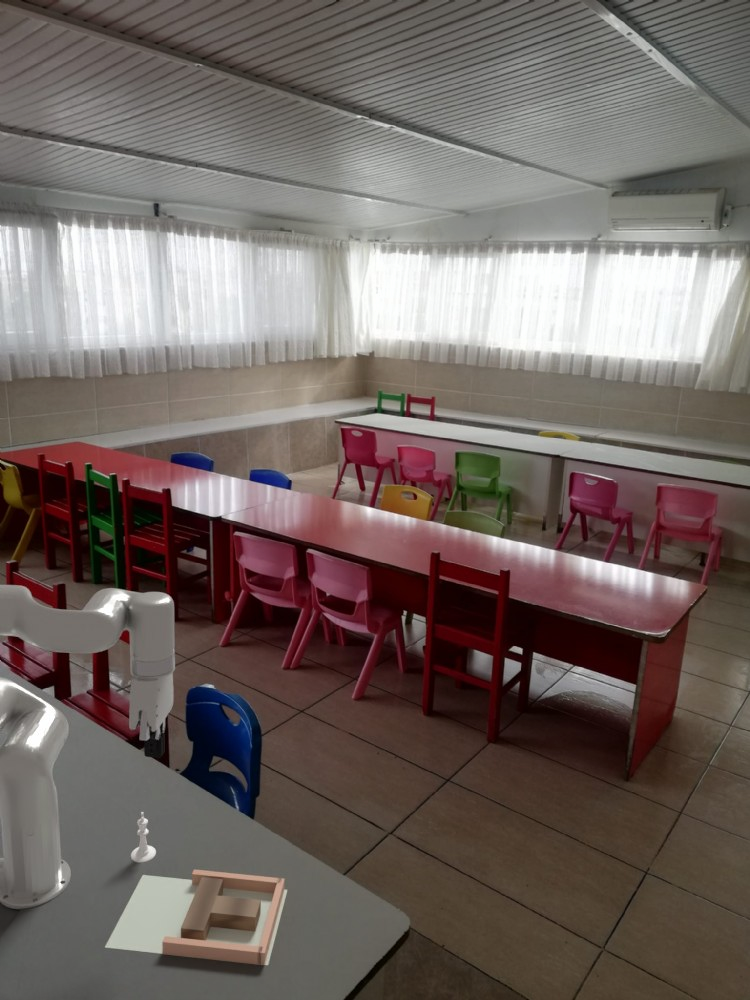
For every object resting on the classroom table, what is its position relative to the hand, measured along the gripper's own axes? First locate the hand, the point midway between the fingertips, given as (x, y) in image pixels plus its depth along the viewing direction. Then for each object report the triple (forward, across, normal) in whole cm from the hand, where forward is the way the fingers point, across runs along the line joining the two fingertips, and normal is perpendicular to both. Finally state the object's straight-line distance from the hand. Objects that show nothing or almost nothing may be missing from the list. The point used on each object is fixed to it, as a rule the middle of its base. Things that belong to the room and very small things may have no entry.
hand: (154, 754), depth 135 cm
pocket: (+26, +8, +16) cm, 32 cm away
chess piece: (+27, -6, -5) cm, 28 cm away
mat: (+27, +8, +11) cm, 30 cm away
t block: (+27, +8, +15) cm, 32 cm away
